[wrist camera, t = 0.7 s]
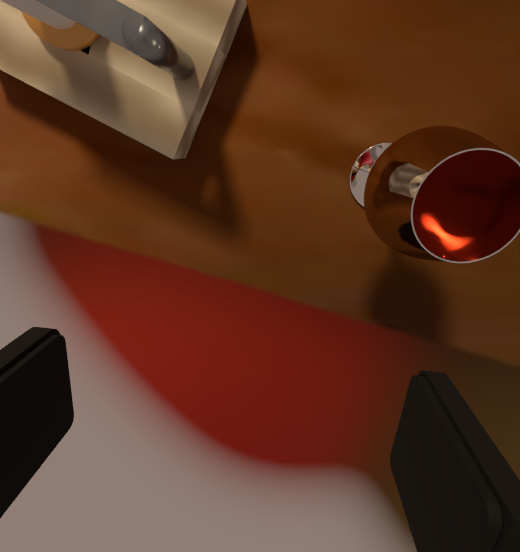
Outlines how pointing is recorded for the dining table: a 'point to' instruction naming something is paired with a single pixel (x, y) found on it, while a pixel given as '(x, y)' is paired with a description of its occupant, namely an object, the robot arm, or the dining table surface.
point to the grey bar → (127, 32)
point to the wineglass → (440, 194)
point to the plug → (54, 26)
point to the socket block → (131, 70)
